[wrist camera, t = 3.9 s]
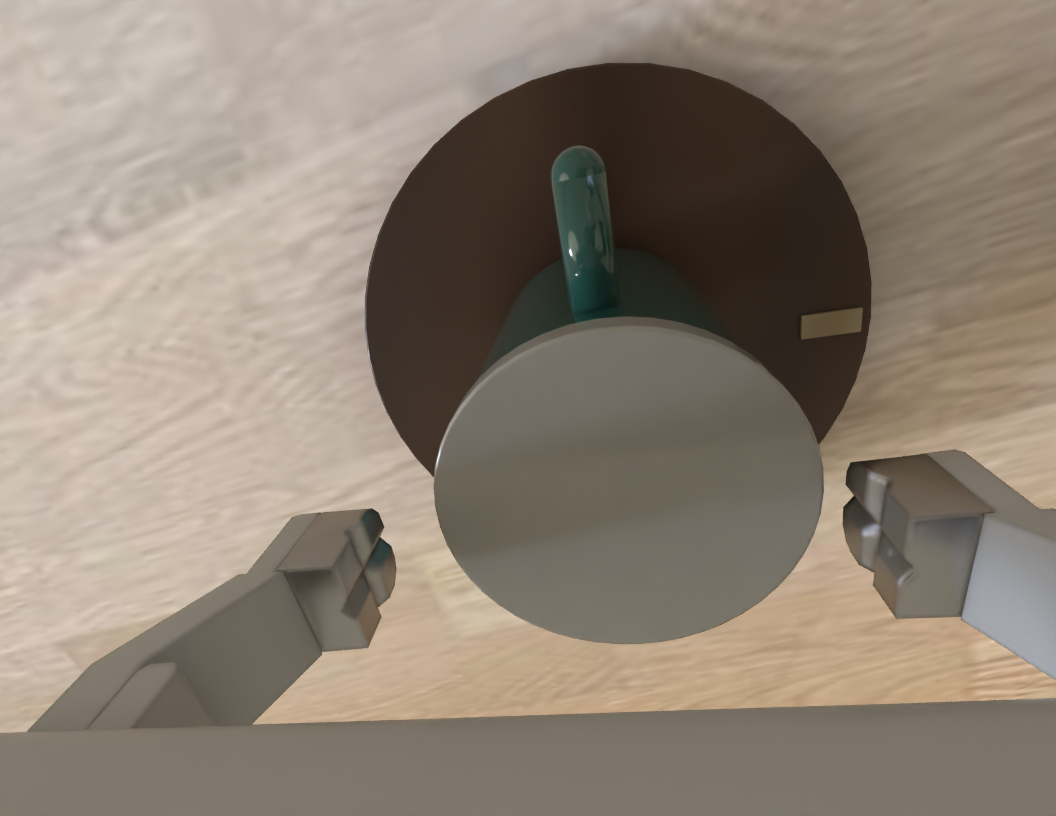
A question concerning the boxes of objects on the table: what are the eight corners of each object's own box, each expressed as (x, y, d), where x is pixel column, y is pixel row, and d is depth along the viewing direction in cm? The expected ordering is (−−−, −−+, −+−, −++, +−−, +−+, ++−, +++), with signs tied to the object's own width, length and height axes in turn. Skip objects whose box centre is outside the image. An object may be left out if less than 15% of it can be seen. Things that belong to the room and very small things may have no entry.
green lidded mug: (711, 119, 13) (852, 87, 6) (721, 438, 17) (816, 637, 10) (454, 172, 14) (333, 194, 7) (518, 461, 18) (478, 653, 11)
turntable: (870, 7, 13) (905, -10, 12) (833, 502, 19) (852, 530, 18) (316, 133, 16) (288, 132, 14) (442, 536, 22) (433, 563, 20)
